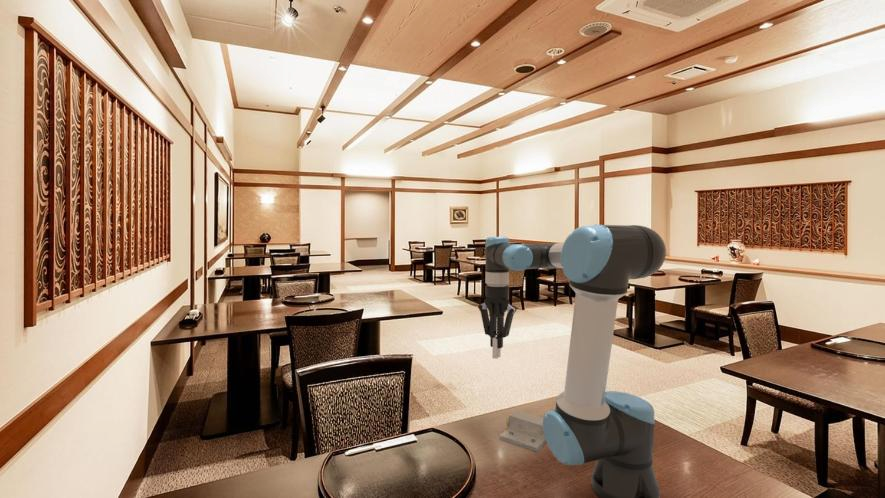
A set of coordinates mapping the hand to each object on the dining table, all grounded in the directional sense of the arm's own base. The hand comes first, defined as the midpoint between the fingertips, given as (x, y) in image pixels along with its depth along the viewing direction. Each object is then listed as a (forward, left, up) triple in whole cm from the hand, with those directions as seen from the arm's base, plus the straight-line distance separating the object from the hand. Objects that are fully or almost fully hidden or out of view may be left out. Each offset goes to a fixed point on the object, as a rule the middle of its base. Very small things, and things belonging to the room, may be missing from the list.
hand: (496, 357), depth 137 cm
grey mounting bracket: (-13, +1, -21) cm, 25 cm away
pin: (-13, +1, -21) cm, 25 cm away
